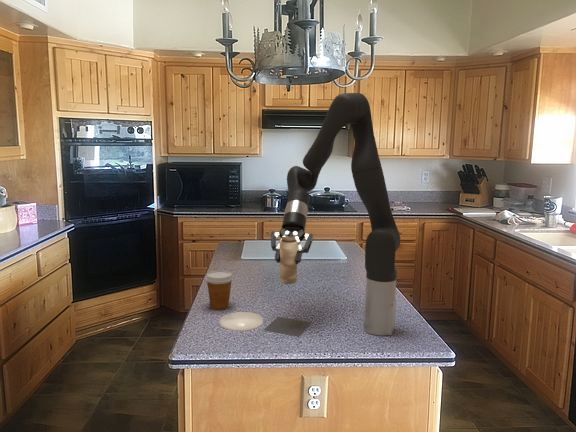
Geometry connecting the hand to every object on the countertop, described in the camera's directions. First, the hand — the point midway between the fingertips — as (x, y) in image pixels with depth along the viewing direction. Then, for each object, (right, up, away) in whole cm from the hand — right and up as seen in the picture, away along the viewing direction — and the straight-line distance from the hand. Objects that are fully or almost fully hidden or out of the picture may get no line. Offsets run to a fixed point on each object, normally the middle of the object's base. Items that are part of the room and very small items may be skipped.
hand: (287, 262), depth 144 cm
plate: (-15, -21, +8) cm, 27 cm away
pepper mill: (0, -6, +3) cm, 7 cm away
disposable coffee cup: (-24, -18, +22) cm, 38 cm away
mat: (0, -21, +5) cm, 22 cm away
